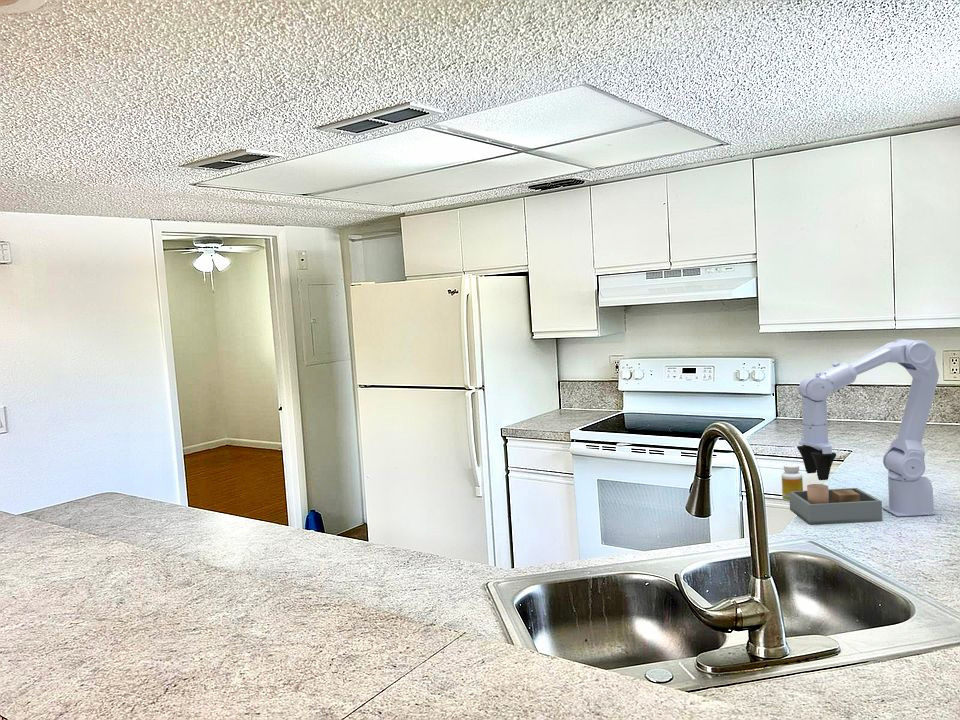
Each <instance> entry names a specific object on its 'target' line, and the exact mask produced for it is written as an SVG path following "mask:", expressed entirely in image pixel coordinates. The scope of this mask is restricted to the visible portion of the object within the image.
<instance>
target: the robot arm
mask: <svg viewBox="0 0 960 720" xmlns="http://www.w3.org/2000/svg"><path fill="white" fill-rule="evenodd" d="M936 354H937V351H936V350H935V349H934V348H933V347H932V346H931V344H929V342H927V341H925V340H921V339H917V340H916V339H915V340H914V339H908V338H898V339H895V340H894V341H891V342H888V343H885V344H884V345H883V346H881V347H879V348H877V349H875V350H873V351H871V352H869V353H868V354H866V355H864V356H862V357H860V358H859V359H856V360H854V361H853V362H851V363H847V362H844V361H843V362H838V361H837V362H834V363H832V366H831V367H829V368H827V369H825V370H823V371H817V372H815V376H806V377H804V378H803V379H802V380H801V381H800V382H799V384H798V385H799V386H798V387H797V391H798V393H799V395H800V396H801V399H802V400H801V401H802V406H801V407H802V408H801V409H802V426H803V427H802V431H803V432H802V433H803V434H802V435H801V437H800V441H798V444H799V445H798V446H797V447H796V448H797V450H798V452H799V453H800V455H801V458H802V461H803V465H804V469H805V472H806V474H816V475H817V479H818V481H828V480H829V477H830V472H831V468H832V465H833V462H834V461H835V459H836V457H837V453H836V452H834V451H833V448H832V447H833V446H832V445H831V444H830V441H829V434H828V432H829V431H828V430H829V429H828V406H827V399H828V398H829V396H830V395H831V394H832V393H834V392H836V391H838V390H840V389H842V388H845V387H846V386H849V385H850V384H853V383H855V381H856V379H857V377H858V376H859V375H860V374H864V373H866V372H868V371H870V370H873V369H876V368H878V367H879V366H882V365H884V364H886V363H897V364H898V365H900V366H902V367H903V368H904V369H905V370H906V371H907V372H908V374H909V375H910V377H912V380H911V384H910V388H909V392H908V397H907V399H906V404H905V407H904V411H903V415H902V419H901V423H900V426H899V430H898V434H897V437H896V438H895V439H894V440H893V441H892V442H891V443H890V446H889V449H888V450H887V451H886V452H885V453H884V455H883V458H882V463H883V466H884V467H885V469H886V470H887V471H888V474H887V483H888V484H887V485H888V505H886V506H883V505H882V510H885V511H886V512H888V513H890V514H892V515H894V516H895V517H911V516H912V517H913V516H928V515H929V516H930V515H936V512H935V511H934V490H933V489H934V488H933V485H932V482H931V480H930V479H929V478H928V477H926V476H924V474H925V472H926V462H925V456H926V452H925V449H924V447H923V444H922V441H923V437H924V435H925V431H926V426H927V423H928V419H929V416H930V412H931V407H932V404H933V400H934V396H935V393H936V388H937V384H938V381H939V377H940V373H939V369H938V365H937V361H936Z"/></svg>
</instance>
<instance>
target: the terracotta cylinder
mask: <svg viewBox="0 0 960 720" xmlns="http://www.w3.org/2000/svg"><path fill="white" fill-rule="evenodd" d="M806 488H807V489H806V491H807V497H808V502H809V503H810V504H823V503H829V490H828V489H829V485H827V484H823V483H812V484H811V483H810V484H807V485H806Z"/></svg>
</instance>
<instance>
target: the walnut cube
mask: <svg viewBox="0 0 960 720" xmlns="http://www.w3.org/2000/svg"><path fill="white" fill-rule="evenodd" d="M831 493H832V503H841V502H859V501H860V494H858V493H856V492H855V491H853V490H834V491H831Z"/></svg>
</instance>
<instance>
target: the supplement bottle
mask: <svg viewBox="0 0 960 720" xmlns="http://www.w3.org/2000/svg"><path fill="white" fill-rule="evenodd" d="M783 471H784V472H782V473H781V497H782V500H783V501H784V502H788V503H790V499H789V492H791V491H804V485H803V484H804V483H803V480H804V479H803V475H802V473H801V472H799V471H800V465H799V464H795V463H788V464H784V465H783Z"/></svg>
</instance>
